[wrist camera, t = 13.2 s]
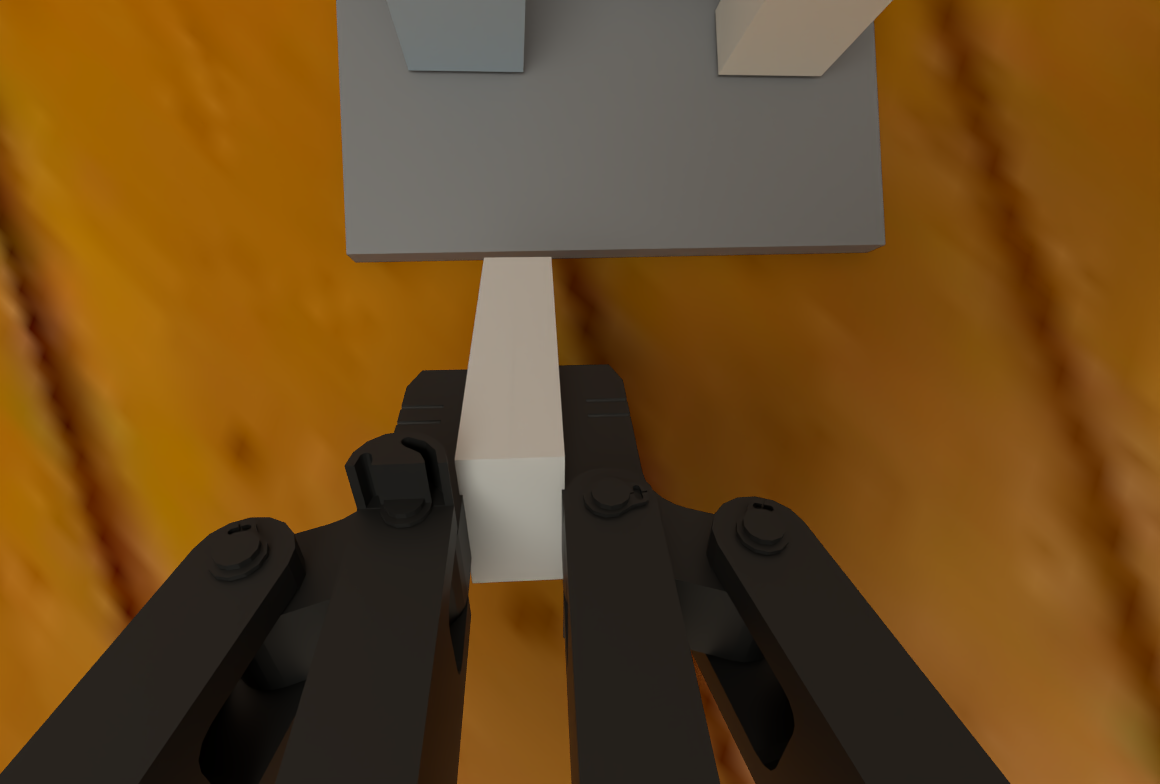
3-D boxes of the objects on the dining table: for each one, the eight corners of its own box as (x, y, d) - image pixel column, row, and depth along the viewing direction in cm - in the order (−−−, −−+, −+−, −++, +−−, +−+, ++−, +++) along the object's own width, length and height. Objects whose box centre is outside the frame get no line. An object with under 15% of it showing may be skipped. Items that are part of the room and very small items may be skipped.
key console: (850, -62, 31) (916, -151, 26) (866, 252, 30) (936, 222, 25) (341, -83, 28) (304, -188, 23) (355, 262, 28) (321, 231, 23)
